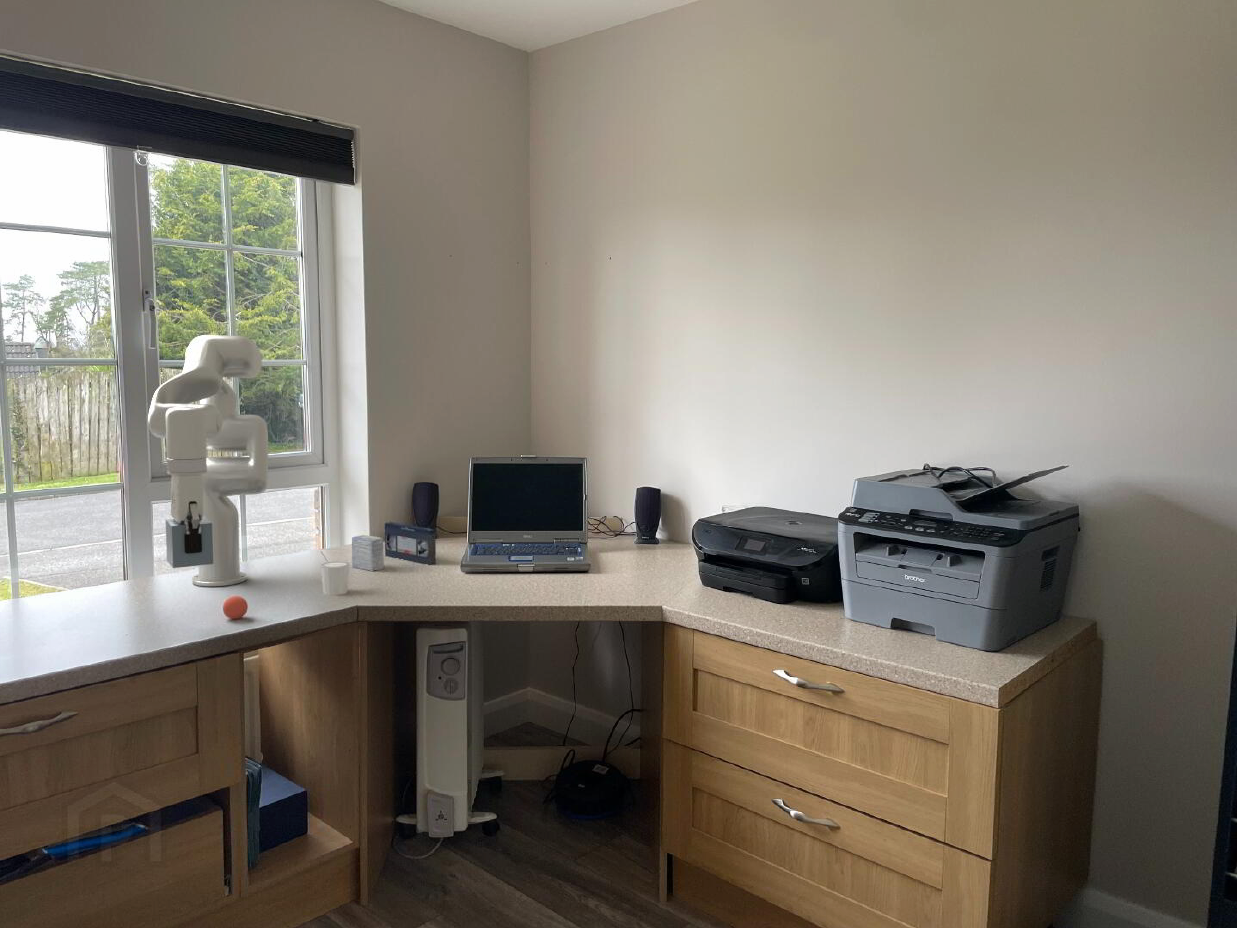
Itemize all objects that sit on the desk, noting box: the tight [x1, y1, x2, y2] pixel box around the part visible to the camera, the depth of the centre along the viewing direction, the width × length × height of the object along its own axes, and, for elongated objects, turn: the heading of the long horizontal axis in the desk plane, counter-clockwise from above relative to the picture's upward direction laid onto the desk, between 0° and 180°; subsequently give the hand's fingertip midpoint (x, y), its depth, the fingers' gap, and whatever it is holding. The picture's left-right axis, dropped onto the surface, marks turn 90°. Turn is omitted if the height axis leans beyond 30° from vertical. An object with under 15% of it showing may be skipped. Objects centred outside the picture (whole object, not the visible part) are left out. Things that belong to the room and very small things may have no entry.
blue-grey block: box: [165, 517, 213, 569], centre depth 190 cm, size 8×8×9 cm
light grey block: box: [351, 534, 385, 572], centre depth 246 cm, size 8×4×9 cm, turn 58°
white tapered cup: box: [320, 561, 351, 596], centre depth 221 cm, size 7×7×7 cm
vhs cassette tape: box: [384, 521, 437, 566], centre depth 258 cm, size 18×3×10 cm, turn 55°
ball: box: [222, 595, 249, 620], centre depth 197 cm, size 5×5×5 cm
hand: (189, 548), depth 190 cm, fingers closed on blue-grey block, 7 cm apart
